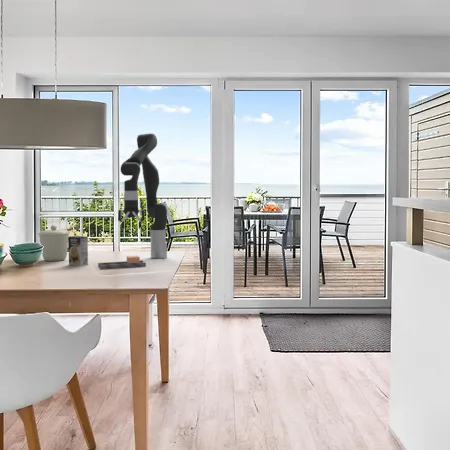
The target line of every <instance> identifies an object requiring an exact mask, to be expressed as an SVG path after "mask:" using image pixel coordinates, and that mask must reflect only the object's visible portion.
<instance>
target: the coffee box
mask: <svg viewBox="0 0 450 450" xmlns="http://www.w3.org/2000/svg"><path fill="white" fill-rule="evenodd" d="M88 241H89V239H88V236H83V235H82V236H81V235H75V236H74V235H73V236H71V235H70V236H68V265H69V266H75V267H76V266H77V267H82V266H84V267H85V266H88V265H89V251H88V250H89V249H88V246H89V244H88V243H89V242H88Z"/></svg>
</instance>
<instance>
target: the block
mask: <svg viewBox="0 0 450 450" xmlns="http://www.w3.org/2000/svg"><path fill="white" fill-rule="evenodd" d="M140 259H141V258H140V256H139V255H128V256H127V255H126V261H127V263H140Z"/></svg>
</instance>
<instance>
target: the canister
mask: <svg viewBox="0 0 450 450" xmlns="http://www.w3.org/2000/svg"><path fill="white" fill-rule="evenodd" d="M37 235H38V237H39V242H40V246H41V245H43V246H44V248H43V253H42V252H41V254H42V255H41V256H42V258H43V260H44V261H46V262H58V261H59V262H61V261H64V260H66V258H67V255H68V250H69V248H68V237H70V236H69V235H70V231H68V230H65V229H58V226H57V225H55V224H54V225H53V224H52V225H50V229H45V230H41V231H39V233H37Z"/></svg>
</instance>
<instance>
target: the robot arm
mask: <svg viewBox="0 0 450 450" xmlns="http://www.w3.org/2000/svg"><path fill="white" fill-rule="evenodd" d="M136 145H137V149H136V150H135V151H134V152H132V155H131V156H130V157H129V158H128V159H126V160H125V161H124V162H122V163H121V165H120V172H121V174H122V175H123V176H128V177H129V176H131V178H130V179H126V180H125V181H124V185H123V187H124V191H123V202H124V203H123V206H124V207H123V210H122V209H119V210H118V213H117V215H118V216H117V221H118V222H121V228H122V229H123V230H125V228H126V225H125V224H126V223H125V221H126V220H127V218H129V219H132V218H135V219H136V220H137V221H138V229H141V228H142V221H143V222H144V221H145V218H146V217H145V210H144V209H139V193H138V192H139V191H138V181H139V179H140V173H141V168H142V176H143V183H144V190H145V196H146V211H147V215H148V216H149V218H151V219H154V220H153V221H154V222H153V223H152V224H150V226H149V228H150V229H149V230H150V231H149V232H150V258H151V259H165V258H167V257H168V249H167V248H168V247H167V240H166V237H167V235H166V227H167V225H168V224H167V223H168V220H167V218H168V209H167V207H166V205H165V204H163V203H159V202H158V197H157V194H158V193H157V192H158V189H159V186H160V175H159V170H158V168H157V166H156V165H155V164H154V163H153V162H152V160H151V159H150V158H149V154H151V153H152V152H153V150H154V149H156V147H157V146H158V138H157V135H156V134H154V133H151V132H150V133H149V132H148V133H143V134H138V135H137V137H136ZM139 213H140V214H141V217H140V216H139V215H138V214H139ZM122 214H124V217H123V218H122Z"/></svg>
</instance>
